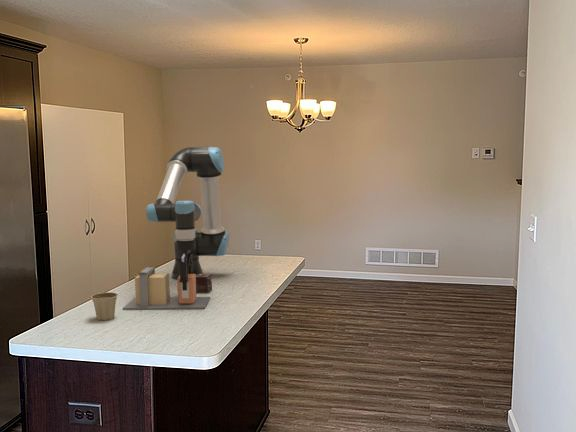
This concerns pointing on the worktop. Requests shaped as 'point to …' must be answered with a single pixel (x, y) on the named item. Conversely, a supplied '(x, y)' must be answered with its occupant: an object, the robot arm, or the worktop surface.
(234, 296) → the worktop surface
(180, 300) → the block
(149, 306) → the holder
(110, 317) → the flower pot
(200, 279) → the box
